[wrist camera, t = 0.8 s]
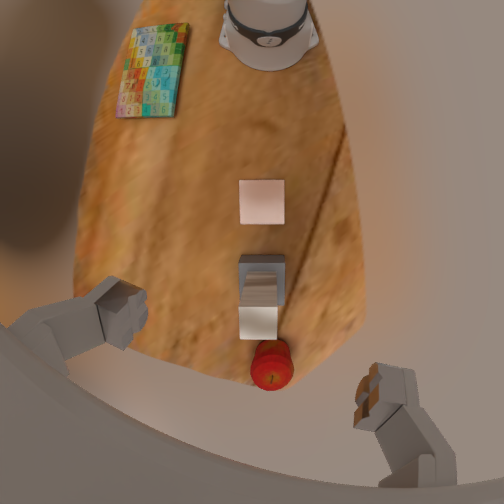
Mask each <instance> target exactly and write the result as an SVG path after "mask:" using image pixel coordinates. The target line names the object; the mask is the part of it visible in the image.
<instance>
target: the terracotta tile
mask: <svg viewBox="0 0 504 504" xmlns="http://www.w3.org/2000/svg"><path fill="white" fill-rule="evenodd" d="M239 196H240V224H284V180H239Z"/></svg>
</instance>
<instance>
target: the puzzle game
mask: <svg viewBox="0 0 504 504" xmlns="http://www.w3.org/2000/svg"><path fill="white" fill-rule="evenodd" d="M188 30H189V23H176V24H166V25H157V26H149V27H143V28H136V29H133V32H132V36H131V40H130V44H129V48H128V53H127V57H126V61H125V66H124V70H123V75H122V80H121V86H120V91H119V97H118V103H117V109H116V118H117V119H125V118H150V117H174V111H175V104H176V97H177V90H178V84H179V78H180V72H181V66H182V61H183V55H184V50H185V45H186V40H187V35H188Z"/></svg>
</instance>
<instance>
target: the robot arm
mask: <svg viewBox="0 0 504 504" xmlns="http://www.w3.org/2000/svg"><path fill="white" fill-rule="evenodd" d="M224 8H225V9H226V10H227V12H226V14H224V15H223V20H224V23H223V26H222V30H221V34H220V38H219V44H220V46H221V47H223V48H225V49H227V50H230V51H231V52H233V53H234V54H235V56H236V57H237V58H238V59H239V60H240V61H241V62H243V63H244V64H245V65H247V66H249V67H251V68H254V69H258V70H263V71H277V70H282V69H285V68H288V67H290V66H292V65H294V64H295V63H296V62H298V61H299V60H300V59H301V58H302V56H303V55H304V54H305V52H306V51H307V50H309V49H311V48H313V47H315V46H317V45H318V43H319V38H318V35H317V32H316V29H315V27H314V24H313V21H312V18H311V16H310V13H309V11H308V4H307V0H225V3H224ZM312 35H313V36H312ZM225 36H226V38H225ZM146 299H147V294H146V291H145V290H144V289H142V288H140V287H137V286H135V285H133V284H130V283H128V282H126V281H124V280H121V279H119V278H117V277H114V276H108V277H107V278H106V279H105V280H103V281H102V282H101V283H100V284H99V285H98V286H96V287H95V288H94V289H93V290H92V291H90V292H89V293H88V294H87V295H86V296H85V297H84V298H82V297H76V298H73V299H69V300H65V301H61V302H57V303H54V304H49V305H45V306H42V307H38V308H34V309H30V310H28V311H27V312H25V313H24V314H23V315H22V316H21V317H20V318H18V319H17V320H16V321H15V322H14V323H13V324H12V325H10V326H9V327H8V328H5V327H4V326H3V325H2V324H1V323H0V504H504V477H503V478H498V479H493V480H488V481H482V482H476V483H469V484H462V485H457V471H456V456H455V453H454V451H453V450H452V448H451V447H450V445H449V444H448V442H447V441H446V439H445V438H444V437H443V435H442V434H441V432H440V431H439V429H438V428H437V427H436V425H435V424H434V422H433V421H432V420H431V418H430V417H429V415H428V414H427V412H426V411H425V410H424V408H421V407H420V406H419V396H418V389H417V382H416V375H415V372H414V370H412V369H407V368H400V367H396V366H391V365H387V364H382V363H377V362H375V363H374V364H372V366H371V367H370V368H369V375H367V376H365V377H363V379H362V380H361V382H360V383H359V386H358V388H357V391H356V397H355V402H356V404H357V406H358V409H357V410H356V411H355V412H354V426H353V428H356V429H361V430H367V431H372V432H375V435H376V438H377V440H378V442H379V444H380V446H381V448H382V451H383V453H384V455H385V457H386V460H387V462H388V464H389V466H390V469H391V471H392V474H391V475H389V476H387V477H386V478H384V479H382V480H381V481H380V482H379V484H378V487H366V486H365V487H364V486H354V485H345V484H336V483H329V482H323V481H317V480H311V479H305V478H300V477H295V476H290V475H286V474H281V473H277V472H273V471H269V470H265V469H261V468H258V467H254V466H250V465H247V464H244V463H240V462H237V461H234V460H231V459H228V458H225V457H222V456H219V455H216V454H213V453H211V452H208V451H205V450H202V449H200V448H197V447H195V446H192V445H190V444H187V443H185V442H182V441H180V440H178V439H175V438H173V437H171V436H169V435H167V434H164V433H162V432H160V431H158V430H155V429H154V428H152V427H149V426H148V425H145V424H143V423H142V422H140V421H138V420H136V419H134V418H132V417H130V416H128V415H126V414H124V413H123V412H121V411H119V410H117V409H116V408H114V407H112V406H110V405H109V404H107V403H105V402H104V401H102V400H100V399H99V398H97V397H96V396H94V395H92V394H91V393H89V392H88V391H86V390H85V389H83V388H81V387H80V386H78V385H77V384H75V383H74V382H73V381H71V380H70V379H68V378H67V376H68V375H69V369H68V367H67V365H66V363H65V360H67V359H70V358H72V357H74V356H77V355H79V354H81V353H84V352H85V351H88V350H90V349H93V348H95V347H97V346H99V345H101V344H104V343H105V342H107V343H109V344H111V345H113V346H115V347H117V348H119V349H121V350H123V351H124V350H125V348H126V347H127V346H128V345H129V344H130V343H131V341H132V340H133V333H136V332H139V331H140V330H141V329H142V328H143V327H144V325H145V323H146V320H147V317H148V308H147V306H146V305H145V303H144V301H145V300H146Z"/></svg>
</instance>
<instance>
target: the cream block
mask: <svg viewBox="0 0 504 504" xmlns="http://www.w3.org/2000/svg"><path fill="white" fill-rule="evenodd" d="M239 326H240V339H261V340H277V277H276V271H247V275H246V279H245V283H244V287H243V291H242V295H241V299H240V303H239Z"/></svg>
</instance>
